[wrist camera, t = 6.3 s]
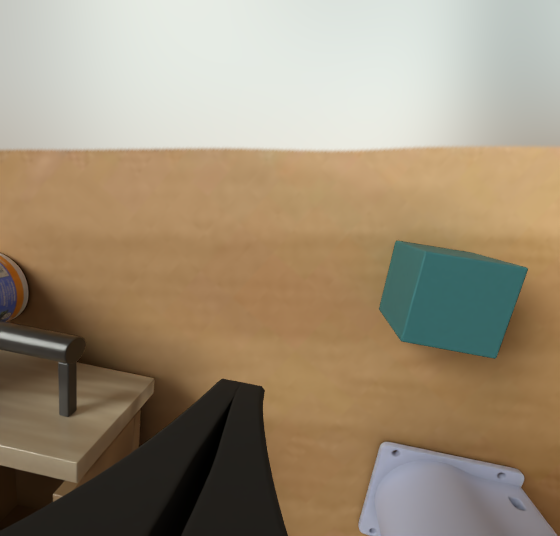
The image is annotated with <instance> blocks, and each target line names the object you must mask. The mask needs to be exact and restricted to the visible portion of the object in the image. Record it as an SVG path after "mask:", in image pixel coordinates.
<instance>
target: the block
mask: <svg viewBox="0 0 560 536" xmlns="http://www.w3.org/2000/svg"><path fill="white" fill-rule="evenodd" d="M527 271H528V269H527V268H526V267H523V266H519V265H515V264H512V263H508V262H504V261H501V260H497V259H493V258H489V257H486V256H482V255H478V254H475V253H471V252H465V251H458V250H452V249H446V248H440V247H434V246H428V245H421V244H415V243H409V242H403V241H396V242H395V246H394V250H393V254H392V259H391V263H390V267H389V271H388V275H387V279H386V283H385V287H384V291H383V295H382V299H381V303H380V307H379V310H380V311H381V313H382V314H383V316H384V317H385V319H386V320H387V321H388V323H389V324H390V326H391V327H392V329H393V330H394V332H395V333H396V334H397V336H398V337H399V339H400V340H401V341H403V342H408V343H413V344H419V345H424V346H430V347H435V348H440V349H446V350H451V351H457V352H462V353H467V354H473V355H478V356H483V357H489V358H494V359H495V358H496V357H497V355H498V352H499V349H500V346H501V343H502V341H503V338H504V335H505V332H506V330H507V327H508V324H509V321H510V318H511V316H512V313H513V310H514V307H515V304H516V302H517V299H518V296H519V293H520V290H521V288H522V285H523V282H524V279H525V276H526V274H527Z"/></svg>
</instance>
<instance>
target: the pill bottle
mask: <svg viewBox="0 0 560 536" xmlns="http://www.w3.org/2000/svg"><path fill="white" fill-rule="evenodd" d="M28 296H29V292H28V285H27V281H26V278H25V276H24V274H23V272H22V270H21V269H20V268H19V266H18V265H17V264H16V263H15V262H14V261H13V260H11V259H10V258H9V257H7V256H5V255H3V254H1V253H0V321H4V322H7V321H10V320H12V319H14V318H16V317H17V316H18V315H20V314H21V313H22V311H23V310H24V309H25V307H26V305H27V302H28Z"/></svg>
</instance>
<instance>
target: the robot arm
mask: <svg viewBox="0 0 560 536" xmlns="http://www.w3.org/2000/svg"><path fill="white" fill-rule="evenodd" d="M264 392H265V390H264V389H263V388H262V386H257V385H252V384H247V383H242V382H237V381H232V380H226V379H221V380H220V381H218V382H217V383H216V384H215V385H214V386H213V387H212V388H211V389H210V390H209V391H208V392H207V393H205V394H204V395H203V396H202V397H201V398H200V399H199V400H198V401H197V402H195V403H194V404H193V405H192V406H191V407H190V408H188V409H187V410H186V411H185V412H184V413H182V414H181V415H180V416H179V417H178V418H176V419H175V420H174V421H173V422H172V423H170V424H169V425H168V426H167V427H165V428H164V429H163V430H161V431H160V432H159V433H157V434H156V435H155V436H153V437H152V438H151V439H149V440H148V441H147V442H145V443H144V444H143V445H141V446H140V447H139V448H137V449H136V450H134V451H133V452H132V453H130V454H129V455H127V456H126V457H124V458H123V459H122V460H120V461H119V462H117V463H116V464H114V465H113V466H111V467H109V468H108V469H106V470H105V471H103V472H102V473H100V474H99V475H97V476H96V477H94V478H92V479H91V480H89V481H88V482H86V483H84V484H83V485H81V486H79V487H78V488H76V489H74V490H72V491H71V492H69V493H67V494H66V495H64V496H62V497H61V498H59V499H57V500H55V501H54V502H52V503H50V504H48V505H47V506H45V507H43V508H41V509H40V510H38V511H36V512H34V513H33V514H31V515H29V516H27V517H25V518H24V519H22V520H20V521H18V522H16V523H14V524H12V525H10V526H8V527H7V528H5V529H3V530H1V531H0V536H288V535H287V531H286V528H285V525H284V521H283V517H282V514H281V510H280V507H279V503H278V499H277V495H276V491H275V487H274V482H273V478H272V473H271V468H270V463H269V458H268V452H267V446H266V439H265V431H264V422H263V398H264ZM394 450H397V451H396V452H393V451H394ZM498 473H499V474H498ZM523 482H524V475H523V474H522V473H521V471H520V470H518V469H516V468H511V467H507V466H502V465H497V464H492V463H488V462H483V461H478V460H473V459H468V458H464V457H459V456H454V455H449V454H445V453H440V452H435V451H430V450H425V449H421V448H416V447H411V446H406V445H402V444H397V443H392V442H383V443H382V444H381V445H380V448H379V451H378V455H377V458H376V462H375V466H374V469H373V473H372V476H371V480H370V484H369V487H368V491H367V494H366V498H365V502H364V505H363V509H362V512H361V516H360V520H359V530H360V531H361V532H362V533H363V534H367V535H371V536H557V534H556V533H555V532H554V530H553V529H552V528H551V526H550V525H549V524H548V522H547V521H546V520H545V518H544V517H543V516H542V514H541V513H540V512H539V511H538V509H537V508H536V507H535V505H534V504H533V503H532V501H531V500H530V499H529V497H528V496H527V495H526V493H525V492H524V491H523V489H522V488H521V486H522V484H523Z"/></svg>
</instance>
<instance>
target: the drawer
mask: <svg viewBox="0 0 560 536" xmlns="http://www.w3.org/2000/svg"><path fill="white" fill-rule="evenodd" d="M85 347H86V342H85V339H84V338H83V337H79V336H74V335H69V334H64V333H59V332H54V331H49V330H44V329H39V328H34V327H29V326H24V325H19V324H14V323H9V322H4V321H0V531H1V530H3V529H5V528H7V527H8V526H10V525H12V524H14V523H16V522H18V521H20V520H22V519H24V518H25V517H27V516H29V515H31V514H33V513H34V512H36V511H38V510H40V509H41V508H43V507H45V506H47V505H48V504H50V503H52V502H54V501H55V500H57V499H59V498H61V497H62V496H64V495H66V494H67V493H69V492H71V491H72V490H74V489H76V488H78V487H79V486H81V485H83V484H84V483H86V482H88V481H89V480H91V479H92V478H94V477H96V476H97V475H99V474H100V473H102V472H103V471H105V470H106V469H108V468H109V467H111V466H113V465H114V464H116V463H117V462H119V461H120V460H122V459H123V458H124V457H126V456H127V455H129V454H130V453H132V452H133V451H134V450H136V449H137V448H139V434H140V415H141V410H139V409H140V408H141V407H142V406H143V405H144V404H145V402H146V401H147V400H148V399H149V398H150V396H151V395H152V394H153V393H154V378H151V377H146V376H141V375H136V374H131V373H126V372H122V371H117V370H112V369H107V368H102V367H97V366H92V365H88V364H83V363H78V362H77V361H78V360H79V359H80V357H81V356H82V355H83V353H84V351H85Z"/></svg>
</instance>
